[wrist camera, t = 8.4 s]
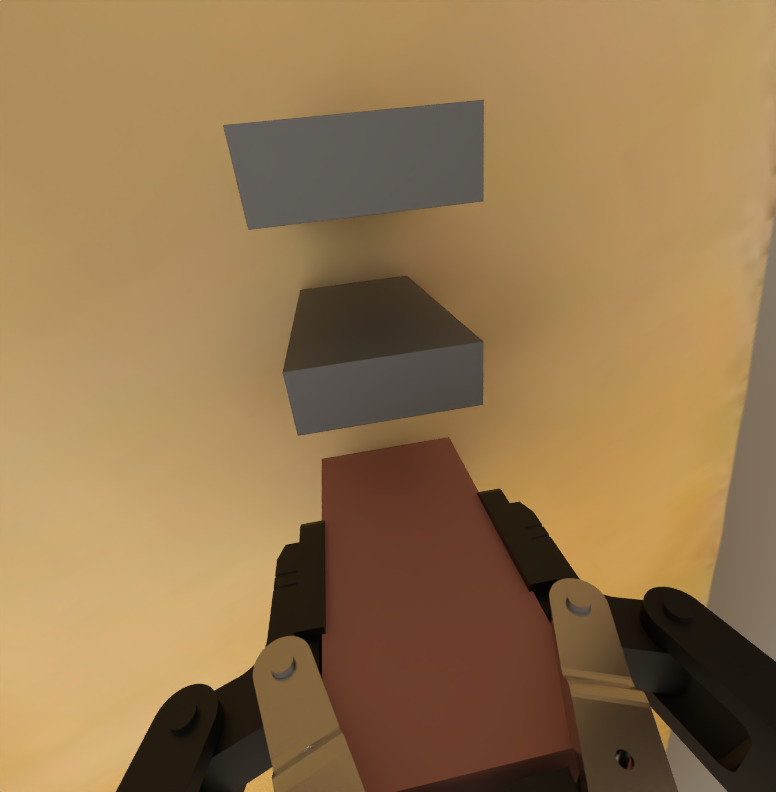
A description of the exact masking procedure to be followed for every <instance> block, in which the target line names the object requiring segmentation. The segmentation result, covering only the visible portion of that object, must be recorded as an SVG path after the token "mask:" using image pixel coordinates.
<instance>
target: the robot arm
mask: <svg viewBox="0 0 776 792" xmlns="http://www.w3.org/2000/svg"><path fill="white" fill-rule="evenodd" d="M477 495H478V497H479V499H480V501H481V503H482V504H483V506H484V508H485V510H486V512H487V514H488V516H489V518H490V519H491V521H492V523H493V525H494V527H495V529H496V531H497V533H498V534H499V536H500V538H501V540H502V542H503V544H504V546H505V548H506V549H507V551H508V553H509V555H510V557H511V559H512V561H513V563H514V564H515V566H516V568H517V570H518V572H519V574H520V576H521V578H522V579H523V581H524V583H525V585H526V587H527V589H528V591H529V592H531V591H533V593H534V594H535V596H536V598H537V600H538V602H539V604H540V605H541V607H542V609H543V611H544V613H545V615H546V617H547V618H548V620H549V622H550V624H551V628H552V635H553V641H554V647H555V653H556V659H557V666H558V672H559V678H560V684H561V690H562V696H563V703H564V709H565V715H566V721H567V727H568V734H569V740H570V744H572V746H573V748H574V751H575V755H576V760H577V765H578V771H579V776H578V781H577V783H575V781H574V779H573V776H572V774H571V772H570V770H569V767H566V768H562V769H558V770H554V771H550V772H546V773H542V774H538V775H534V776H530V777H526V778H523V779H521V780H520V781H519V782H517V783H516V784H514V785H513V786H511V787H510V788H508V789H507V790H506V791H504V792H678V789H677V786H676V783H675V780H674V777H673V774H672V771H671V768H670V765H669V762H668V759H667V755H666V752H665V749H664V746H663V743H662V740H661V737H660V734H659V731H658V728H657V725H656V722H655V719H654V716H653V713H652V710H651V707H652V709H653V710H654V711H655V712H656V713H657V714H658V715H659V716H660V717H661V718H662V720H663V721H664V722H665V723H666V724H667V725H668V726H669V727H670V728H671V730H672V731H673V732H674V733H675V734H676V735H677V736H678V737H679V738H680V740H681V741H682V742H683V743H684V744H685V745H686V746H687V747H688V748H689V749H690V751H692V753H693V754H694V755H695V756H696V757H697V758H698V759H699V760H700V762H701V763H702V764H703V765H704V766H705V767H706V768H707V769H708V770H709V772H710V773H711V774H712V775H713V776H714V777H715V778H716V779H717V780H718V782H720V784H721V785H722V786H723V787H724V788H725V789H726V790H727V791H728V792H776V662H775V661H774V660H773V659H772V658H770V657H769V656H768V655H766V654H765V653H764V652H762V651H761V650H760V649H759V648H757V647H756V646H755V645H753V644H752V643H751V642H750V641H749V640H747V639H746V638H745V637H743V636H742V635H741V634H739V633H738V632H737V631H736V630H734V629H733V628H732V627H731V626H729V625H728V624H727V623H726V622H724V621H723V620H722V619H720V618H719V617H718V616H716V615H715V614H714V613H713V612H712V611H710V610H709V609H708V608H706V607H705V606H704V605H703V604H701V603H700V602H699V601H698V600H696V599H695V598H693V597H692V596H690V595H688V594H687V593H685V592H682V591H680V590H677V589H674V588H670V587H656V588H652V589H650V590H649V591H647V593H646V594H645V596H644V599H643V600H637V599H627V598H617V597H610V596H607V595H604V594H602V593H601V592H600V591H599V590H598V589H597V588H596V587H594V586H593V585H591V584H590V583H588V582H585V581H583V580H580V579H579V577H578V576H577V575H576V573H575V572H574V570H573V569H572V567H571V566H570V565H569V563H568V562H567V560H566V559H565V557H564V556H563V554H562V553H561V551H560V550H559V549H558V547H557V546H556V544H555V543H554V541H553V540H552V538H551V537H549V534H548V532H547V531H546V530H545V528H544V527H542V524H541V522H540V521H539V519H538V518H537V516H536V515H535V514H534V512H533V511H532V510H530V509H529V508H528V507H526V506H525V505H523V504H522V503H521V502H515V503H509V501H508V500H507V498H506V496H505V495H504V493H503V492H502V490H501V489H494V490H489V491H483V492H478V493H477ZM275 576H276V578H275V582H274V591H273V598H272V606H271V614H270V622H269V630H268V638H267V643H266V646H265V649H264V650H263V651H262V652H261V653H260V655H259V656H258V658H257V660H256V662H255V664H254V666H253V667H252V668H250V669H249V670H248V671H247V672H246V673H244V674H243V675H241V676H240V677H238V678H236V679H235V680H233V681H231V682H229V683H227V684H225V685H224V686H222V687H220V688H218V689H216V690H215V691H214V690H213V689H212V688H211V687H210V686H208V685H205V684H193V685H190V686H187V687H185V688H183V689H181V690H179V691H178V692H176V693H175V694H173V695H172V696H171V697H170V698H169V699H168V700H167V701H166V702H165V703H164V704H163V706H162V707H161V708H160V710H159V711H158V713H157V714H156V716H155V718H154V720H153V722H152V724H151V726H150V727H149V729H148V731H147V733H146V735H145V737H144V739H143V741H142V743H141V745H140V747H139V748H138V750H137V752H136V754H135V756H134V758H133V760H132V762H131V764H130V766H129V768H128V770H127V771H126V773H125V775H124V777H123V779H122V781H121V783H120V785H119V787H118V789H117V791H116V792H244V790H245V787H246V784H247V783H249V782H250V781H252V780H253V779H255V778H256V777H258V776H259V775H261V774H262V773H264V772H265V771H267V770H268V769H270V768H271V767H272V768H273V775H272V782H273V788H274V792H365V790H364V787H363V784H362V782H361V779H360V776H359V774H358V771H357V768H356V766H355V763H354V761H353V758H352V755H351V753H350V750H349V747H348V745H347V742H346V739H345V737H344V734H343V732H342V730H341V729H340V726H339V724H338V721H337V719H336V716H335V713H334V711H333V708H332V705H331V702H330V700H329V697H328V694H327V692H326V689H325V686H324V684H323V681H322V634H326V590H325V521H324V520H323V521H317V522H312V523H306V524H301V527H300V541H299V542H298V543H293V544H288V545H285V547H284V549H283V550H282V552H281V554H280V556H279V557H278V559H277V566H276V574H275ZM650 706H651V707H650Z"/></svg>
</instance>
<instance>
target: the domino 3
mask: <svg viewBox="0 0 776 792" xmlns="http://www.w3.org/2000/svg"><path fill="white" fill-rule="evenodd" d="M477 493H478V490H477V488H476V486H475V484H474V483H473V481H472V479H471V477H470V475H469V473H468V472H467V470H466V468H465V466H464V464H463V462H462V461H461V459H460V457H459V455H458V453H457V451H456V450H455V448H454V446H453V444H452V442H451V440H450V439H449V437H448V438H442V439H436V440H430V441H424V442H418V443H412V444H407V445H401V446H395V447H389V448H383V449H377V450H372V451H366V452H360V453H354V454H348V455H342V456H336V457H331V458H325V459H322V521H323V520H324V521H325V590H326V634H322V681H323V684H324V686H325V689H326V692H327V694H328V697H329V700H330V702H331V705H332V708H333V711H334V713H335V716H336V719H337V721H338V724H339V726H340V729H341V730H342V732H343V734H344V737H345V739H346V742H347V745H348V747H349V750H350V753H351V755H352V758H353V761H354V763H355V766H356V768H357V771H358V774H359V776H360V779H361V782H362V784H363V787H364V790H365V792H504V791H506V790H507V789H508V788H510V787H511V786H513V785H514V784H516V783H517V782H519V781H520V780H521V779H523V778H526V777H530V776H534V775H538V774H542V773H546V772H550V771H554V770H558V769H562V768H566V767H569V770H570V772H571V774H572V776H573V779H574V781H575V783H577V781H578V776H579V771H578V765H577V760H576V755H575V751H574V748H573V746H572V744H570V740H569V734H568V727H567V721H566V715H565V709H564V703H563V696H562V690H561V684H560V678H559V672H558V666H557V659H556V653H555V647H554V641H553V635H552V628H551V624H550V622H549V620H548V618H547V617H546V615H545V613H544V611H543V609H542V607H541V605H540V604H539V602H538V600H537V598H536V596H535V594H534V593H533V591H531V592H529V591H528V589H527V587H526V585H525V583H524V581H523V579H522V578H521V576H520V574H519V572H518V570H517V568H516V566H515V564H514V563H513V561H512V559H511V557H510V555H509V553H508V551H507V549H506V548H505V546H504V544H503V542H502V540H501V538H500V536H499V534H498V533H497V531H496V529H495V527H494V525H493V523H492V521H491V519H490V518H489V516H488V514H487V512H486V510H485V508H484V506H483V504H482V503H481V501H480V499H479V497H478V495H477Z"/></svg>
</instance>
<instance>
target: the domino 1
mask: <svg viewBox="0 0 776 792" xmlns="http://www.w3.org/2000/svg"><path fill="white" fill-rule="evenodd" d="M223 126H224V131H225V135H226V139H227V143H228V147H229V151H230V155H231V160H232V164H233V168H234V172H235V176H236V180H237V185H238V189H239V193H240V197H241V201H242V205H243V209H244V214H245V218H246V222H247V226H248V230H251V229H259V228H267V227H276V226H284V225H292V224H300V223H309V222H317V221H325V220H333V219H342V218H350V217H358V216H366V215H375V214H383V213H391V212H399V211H408V210H416V209H424V208H432V207H441V206H449V205H457V204H465V203H474V202H482V201H483V142H484V100H477V101H467V102H456V103H446V104H436V105H426V106H416V107H405V108H395V109H385V110H375V111H364V112H354V113H344V114H334V115H324V116H313V117H303V118H293V119H283V120H273V121H262V122H252V123H242V124H232V125H223Z"/></svg>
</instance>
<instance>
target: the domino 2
mask: <svg viewBox="0 0 776 792" xmlns="http://www.w3.org/2000/svg"><path fill="white" fill-rule="evenodd" d="M283 375H284V380H285V384H286V388H287V392H288V396H289V400H290V405H291V409H292V413H293V417H294V421H295V425H296V430H297V434H298V436H299V435H305V434H311V433H317V432H323V431H329V430H335V429H341V428H347V427H353V426H359V425H365V424H371V423H377V422H383V421H389V420H394V419H400V418H406V417H412V416H418V415H424V414H430V413H436V412H442V411H448V410H454V409H460V408H466V407H472V406H478V405H483V341H482V340H481V339H480V338H479V337H477V336H476V335H475V334H474V333H473V332H472V331H470V330H469V329H468V328H467V327H466V326H465V325H463V324H462V323H461V322H460V321H459V320H458V319H456V318H455V317H454V316H453V315H452V314H451V313H449V312H448V311H447V310H446V309H445V308H444V307H442V306H441V305H440V304H439V303H438V302H437V301H435V300H434V299H433V298H432V297H431V296H430V295H428V294H427V293H426V292H425V291H424V290H423V289H421V288H420V287H419V286H418V285H417V284H416V283H414V282H413V281H412V280H411V279H410V278H409V277H407V276H402V277H395V278H387V279H380V280H373V281H365V282H358V283H350V284H343V285H336V286H328V287H321V288H314V289H306V290H300V294H299V299H298V303H297V308H296V313H295V317H294V322H293V327H292V331H291V336H290V341H289V345H288V350H287V355H286V359H285V364H284V369H283Z"/></svg>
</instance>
